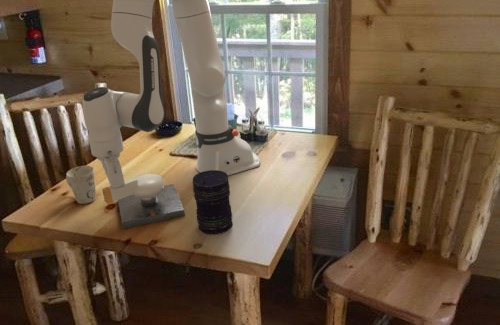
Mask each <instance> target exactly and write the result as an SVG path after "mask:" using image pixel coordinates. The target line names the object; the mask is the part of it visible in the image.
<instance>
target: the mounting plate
mask: <svg viewBox="0 0 500 325" xmlns="http://www.w3.org/2000/svg"><path fill="white" fill-rule="evenodd" d="M117 202H118V207H119V214H120V215H119V216H120V220H121V226H122V229H128V228H134V227H137V226H142V225H146V224H147V225H148V224H152V223H157V222H160V221H161V222H162V221H166V220H170V219H175V218H180V217H184V216H186V211H185V208H184V206H183V203H182V201H181V198H180V196H179V194H178V191H177V189H176V186H175V183H172V184H166V185H164V190H163V192H162V193H160V194H159V195H157V196H154V197H151V198H144V199H141V198H135V197H133V196H132V195H130V196H127V197H125V198H122V199H119V200H117Z"/></svg>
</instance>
